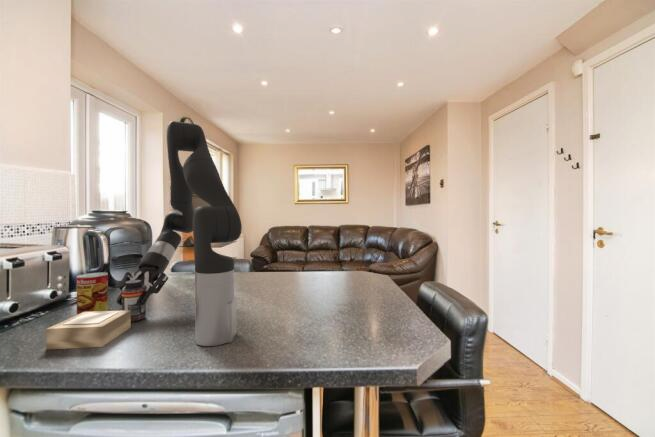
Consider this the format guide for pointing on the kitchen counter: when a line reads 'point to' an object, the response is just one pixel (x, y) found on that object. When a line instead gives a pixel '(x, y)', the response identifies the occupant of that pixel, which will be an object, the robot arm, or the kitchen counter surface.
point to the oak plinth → (88, 329)
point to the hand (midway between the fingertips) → (129, 304)
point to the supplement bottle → (133, 299)
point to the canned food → (92, 292)
